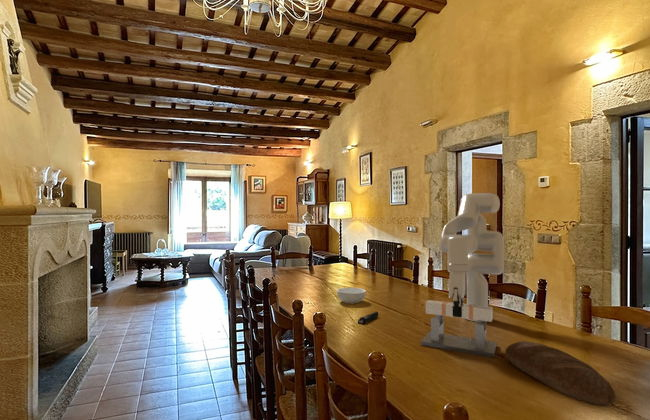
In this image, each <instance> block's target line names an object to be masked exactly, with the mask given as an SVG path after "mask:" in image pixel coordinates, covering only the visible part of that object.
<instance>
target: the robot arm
mask: <svg viewBox="0 0 650 420" xmlns="http://www.w3.org/2000/svg"><path fill="white" fill-rule="evenodd" d="M459 201H460V202H459V203H460V204H459V207H458V212H457V216H456V217H454V218H452V219H450V221H449V222H447V223H446V224H444V226H443V228H442V232H441V236H440V240H439V248H440V250H441V251H442V252H444V253H447V272H448V273H449V280H448V281H449V282H448V298H449V299H452V303H453V317H452V318H458V317H462V307H461V304H464V297H465V296H466V304H469V305H471V304H472V305H478V306H488V307H489V283H488V280H487V279H486V278H485V276H484V275H498V276H499V275H501V274H503V273H504V271H505V245H504V244H505V241H504V239H505V238H504V236H503V234H502V233H501V232H500V231H491V230H488V229H487V219H486V218H485V217H484V215H483V214H496V213H497V212H498V211H499V209H500V205H501V203H500V198H499V196H498V195H497V194H496V193H495V194H494V193H491V192H481V193H480V192H477V193H474V192H473V193H472V192H471V193H468V194H464V195H463V196H462V197H461V198H460V200H459ZM466 230H467V234H457V233H459V232H463V231H466ZM476 251H477V252H476ZM478 251H479V252H480V251H481V252H492V253H478ZM474 252H475V253H474ZM464 319H466V318H464ZM466 320H468V321H470V322H475V323H477V320H474V319H473V320H471V319H466ZM487 322H489V321H486V323H487Z"/></svg>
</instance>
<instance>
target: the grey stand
mask: <svg viewBox="0 0 650 420" xmlns="http://www.w3.org/2000/svg"><path fill="white" fill-rule="evenodd" d="M434 315H435V314H434ZM444 317H445V316H442V315H435V317H430V331H428V332H427V333H426V334H425V336H424V337H422V339H421V341H420V346H423V347H428V348H429V347H430V348H435V349H440V350H447V351H452V352H458V353H463V354H464V353H465V354H468V355H469V354H470V355H476V356H482V357H487V358H492V359H493V358H494V359H495V356H496V351H497V346H498V342H497V341H491V340H487V322H486V321H482V320H477V322H475V323H474V338H473V337H472V338H471V337H466V336H458V335H451V334H447V333H444V329H445V328H444V324H445V322H444Z"/></svg>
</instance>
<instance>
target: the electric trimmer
mask: <svg viewBox="0 0 650 420" xmlns="http://www.w3.org/2000/svg"><path fill="white" fill-rule="evenodd" d="M378 317H379V312H378V311H375V312H371V313H369V314H367V315H365V316H361V317H360V318H359V319H358V321H357V324H358V325H365V324H366V323H368V322H370V321H374V320H375V319H376V318H378Z"/></svg>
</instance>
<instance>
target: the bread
mask: <svg viewBox="0 0 650 420" xmlns="http://www.w3.org/2000/svg"><path fill="white" fill-rule="evenodd" d="M504 353H505V356H506V358H507V359H508V360H509V361H510V363H511V364H512V365H513V366H514V367H515V368H517V369H519V370H520V371H522V372H524V373H525V374H527V375H528V376H530V377H531V378H534V379H536V380H537V381H539V382H541V383H543V384H544V385H545V386H548V387H550V388H551V389H554V390H555V391H556V392H559V393H561V394H563V395H566V396H568V397H570V398H573V399H576V400H579V399H580V400H579V401H582V400H583V401H582V402H585V403H589V404H592V405H596V406H606V405H610V404H613V403H614V402H615V400H616V398H617V397H616V393H615V390H614V389H613V387H612V385H611V384H610V382H609V381H608V380H607V379H606V378H605V377H604V376H602V375H601V374H600V373H599V372H598V371H597V370H596V369H595V368H594V367H592V365H589V364H588V363H586V362H584V361H582V360H580V359H578V358H577V357H574V356H573V355H570V353H567V352H565V351H562V350H561V349H558V348H554V347H553V346H552V347H551V346H549V345H548V346H547V345H545V344H541V343H538V342H537V343H536V342H531V341H526V340H525V341H524V340H522V341H517V342H513V343H511V344H510V345H509V346H507V347H506V349H505V352H504Z"/></svg>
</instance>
